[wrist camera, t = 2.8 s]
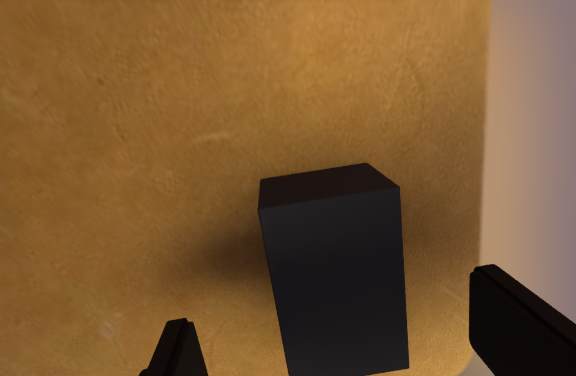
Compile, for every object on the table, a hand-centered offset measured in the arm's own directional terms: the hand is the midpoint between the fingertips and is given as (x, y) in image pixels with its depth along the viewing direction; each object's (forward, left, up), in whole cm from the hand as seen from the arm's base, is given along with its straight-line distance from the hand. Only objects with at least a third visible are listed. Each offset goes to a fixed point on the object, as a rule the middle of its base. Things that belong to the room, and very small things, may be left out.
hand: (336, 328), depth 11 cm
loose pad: (0, 0, -6) cm, 6 cm away
